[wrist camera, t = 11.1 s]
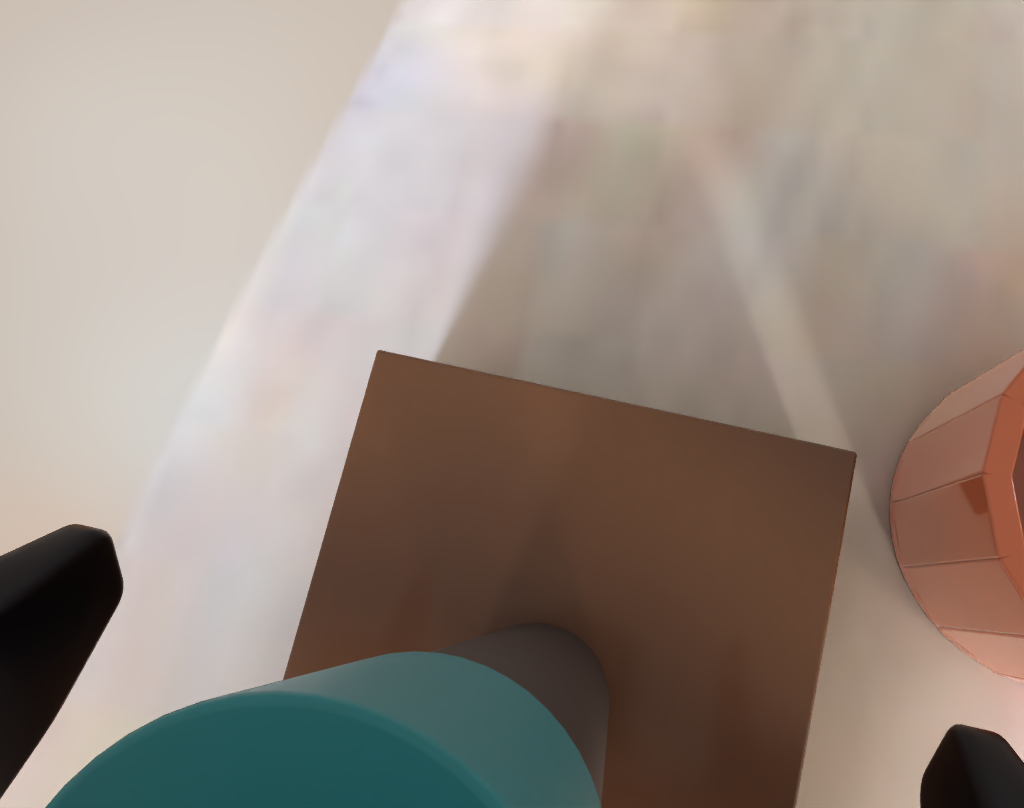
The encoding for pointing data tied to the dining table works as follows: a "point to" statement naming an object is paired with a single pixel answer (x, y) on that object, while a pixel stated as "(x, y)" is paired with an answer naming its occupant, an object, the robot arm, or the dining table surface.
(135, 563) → the dining table surface
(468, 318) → the dining table surface
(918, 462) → the pen cup
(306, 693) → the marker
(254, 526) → the dining table surface
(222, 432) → the dining table surface
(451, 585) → the shelf
